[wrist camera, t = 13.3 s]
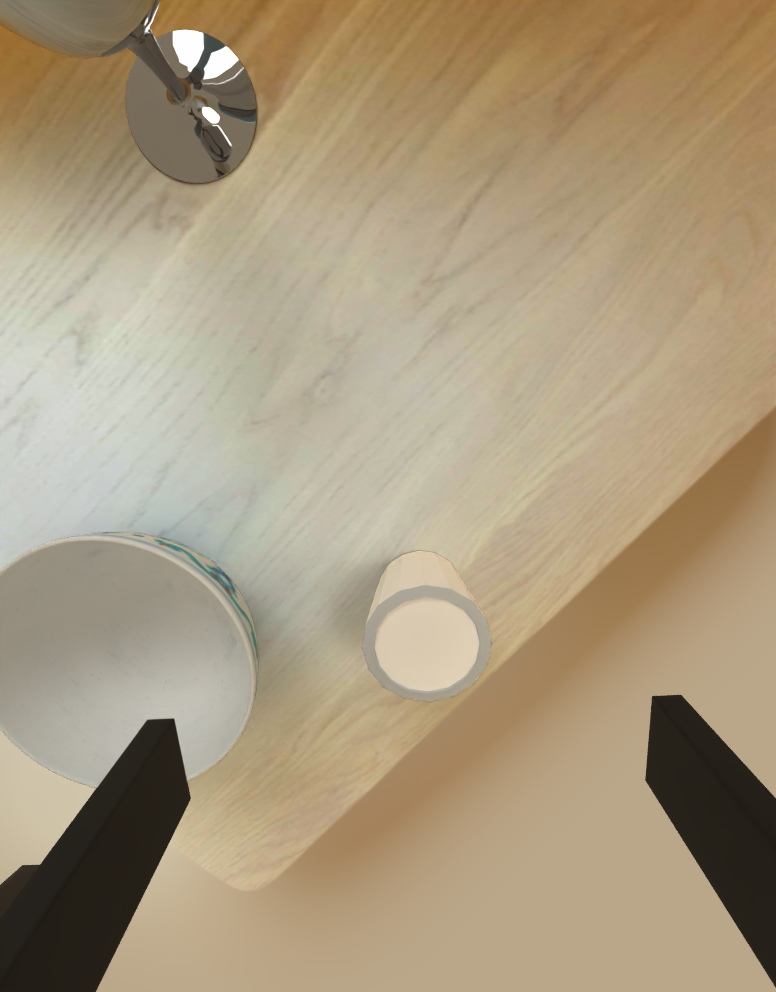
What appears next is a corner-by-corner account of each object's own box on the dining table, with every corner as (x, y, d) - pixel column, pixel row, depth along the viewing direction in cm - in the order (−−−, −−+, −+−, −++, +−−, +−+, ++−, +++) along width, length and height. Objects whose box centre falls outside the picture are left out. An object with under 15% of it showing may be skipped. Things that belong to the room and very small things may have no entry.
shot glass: (388, 527, 30) (387, 568, 23) (486, 561, 30) (512, 610, 24) (355, 618, 32) (344, 681, 25) (449, 648, 32) (463, 719, 25)
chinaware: (223, 736, 34) (174, 834, 26) (35, 633, 32) (-74, 708, 25) (329, 577, 31) (307, 637, 23) (128, 455, 29) (35, 478, 22)
